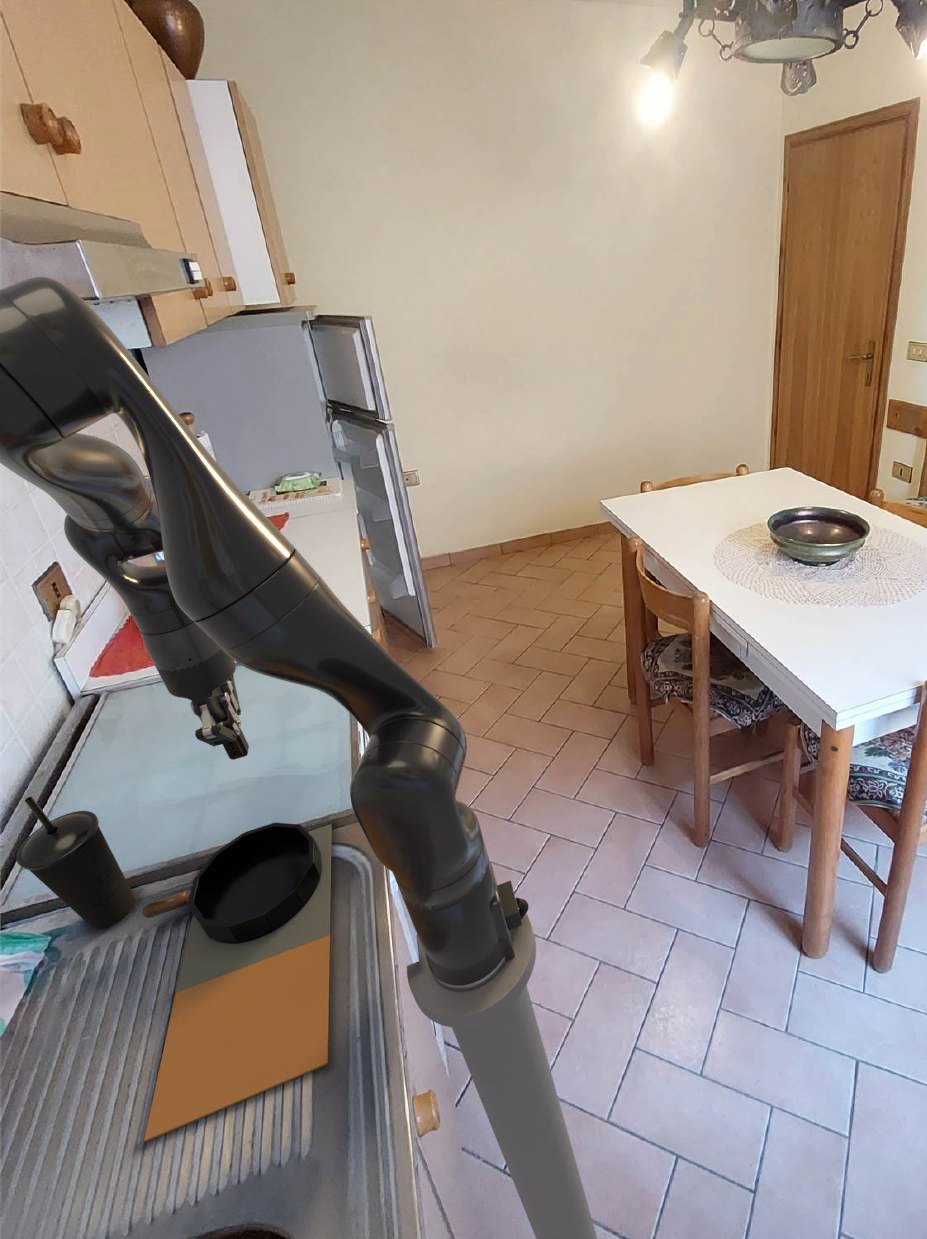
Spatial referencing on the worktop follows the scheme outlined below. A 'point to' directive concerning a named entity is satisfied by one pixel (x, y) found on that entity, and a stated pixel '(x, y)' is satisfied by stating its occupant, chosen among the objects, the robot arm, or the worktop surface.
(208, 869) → the skillet
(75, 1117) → the worktop surface
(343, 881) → the worktop surface
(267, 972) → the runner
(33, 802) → the drinking cup
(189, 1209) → the worktop surface
